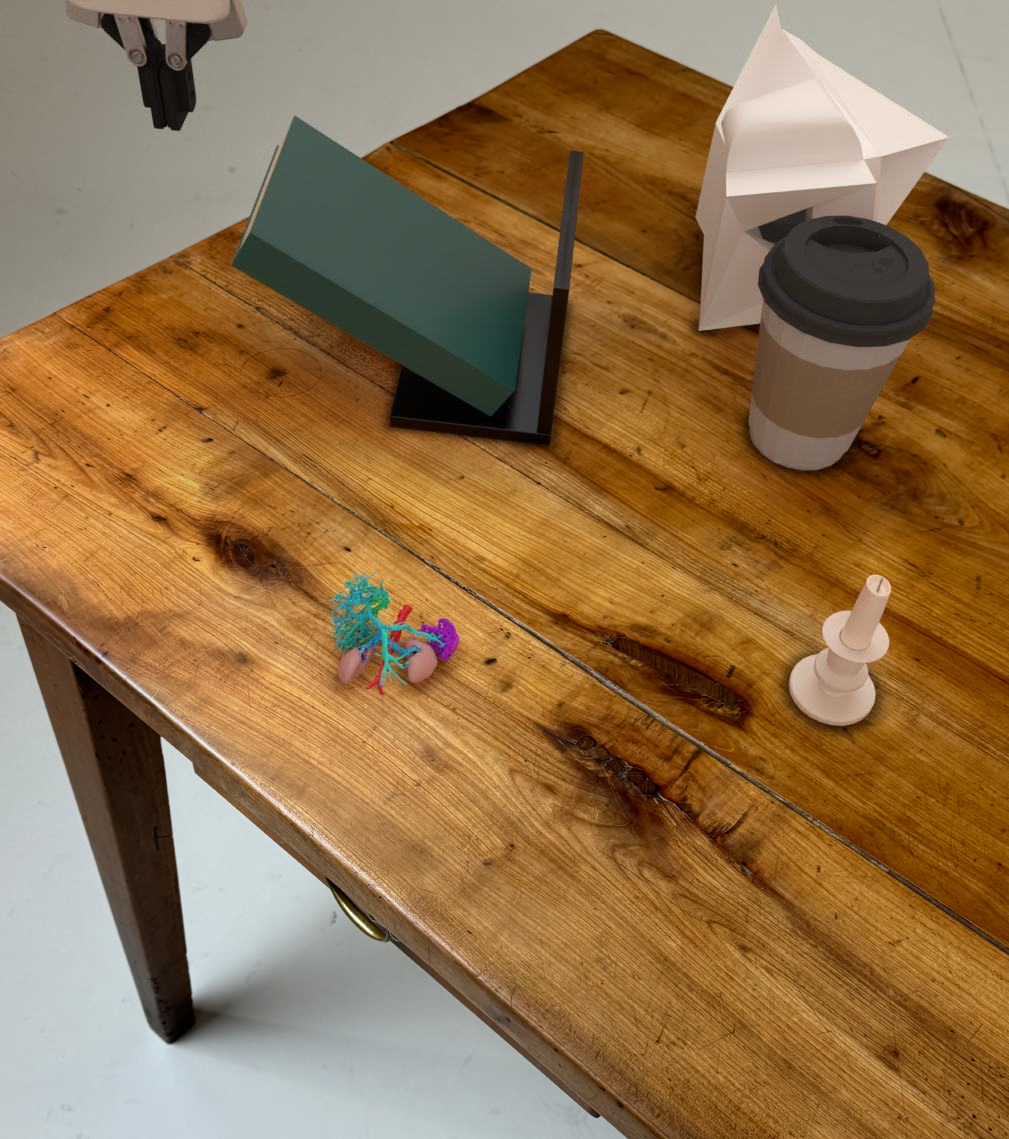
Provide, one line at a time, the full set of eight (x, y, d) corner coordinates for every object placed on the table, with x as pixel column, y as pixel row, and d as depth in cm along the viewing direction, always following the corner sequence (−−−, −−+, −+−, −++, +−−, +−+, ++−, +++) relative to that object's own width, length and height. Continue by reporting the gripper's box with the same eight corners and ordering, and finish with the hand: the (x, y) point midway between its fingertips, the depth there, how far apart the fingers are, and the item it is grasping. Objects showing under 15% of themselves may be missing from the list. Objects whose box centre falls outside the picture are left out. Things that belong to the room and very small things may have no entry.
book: (230, 265, 82) (250, 232, 80) (275, 147, 90) (294, 115, 88) (490, 417, 89) (514, 390, 87) (509, 295, 98) (531, 268, 96)
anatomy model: (436, 681, 71) (466, 583, 74) (298, 652, 72) (333, 555, 75) (438, 725, 75) (466, 631, 79) (307, 697, 76) (340, 604, 79)
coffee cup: (863, 390, 96) (929, 211, 84) (888, 497, 89) (963, 318, 77) (713, 380, 95) (757, 198, 84) (725, 487, 88) (776, 305, 77)
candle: (888, 688, 78) (945, 574, 70) (847, 741, 76) (902, 629, 68) (814, 644, 80) (862, 528, 72) (772, 695, 78) (817, 580, 69)
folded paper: (757, 141, 84) (996, 159, 87) (682, -27, 98) (889, -6, 102) (690, 351, 97) (900, 360, 100) (632, 176, 112) (817, 189, 115)
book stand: (389, 427, 90) (388, 268, 80) (420, 290, 100) (423, 133, 89) (549, 445, 90) (569, 289, 79) (564, 306, 100) (584, 151, 89)
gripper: (277, -222, 70) (299, 101, 84) (5, -251, 70) (74, 76, 84) (247, -167, 65) (276, 164, 80) (-44, -198, 65) (39, 137, 80)
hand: (172, 118), depth 82 cm, fingers closed
